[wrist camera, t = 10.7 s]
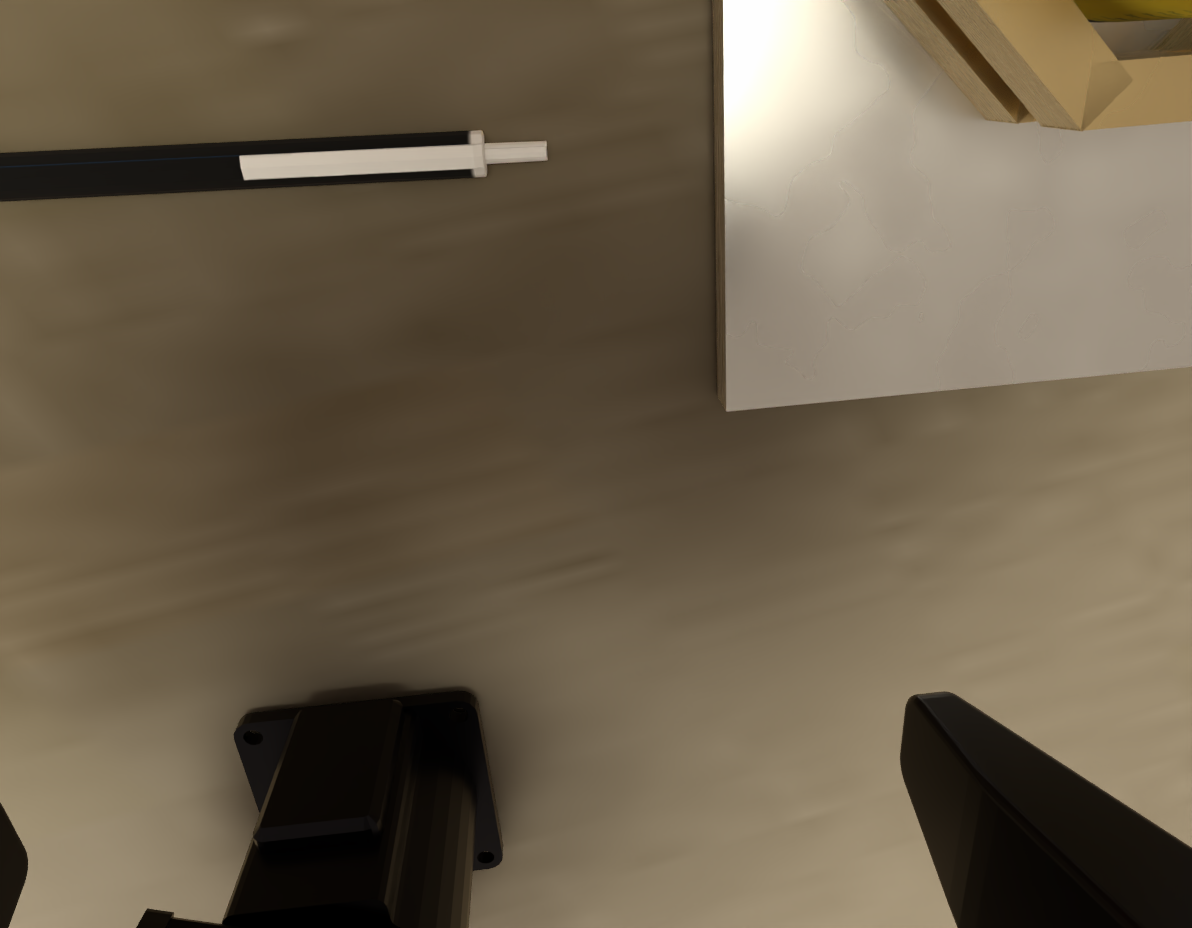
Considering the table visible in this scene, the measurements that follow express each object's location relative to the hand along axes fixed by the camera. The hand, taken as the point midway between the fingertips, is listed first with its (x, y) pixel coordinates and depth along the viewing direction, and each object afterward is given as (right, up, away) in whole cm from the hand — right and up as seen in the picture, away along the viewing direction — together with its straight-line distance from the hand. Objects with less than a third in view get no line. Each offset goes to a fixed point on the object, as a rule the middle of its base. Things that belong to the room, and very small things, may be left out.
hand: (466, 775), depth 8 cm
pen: (-9, +9, +9) cm, 16 cm away
